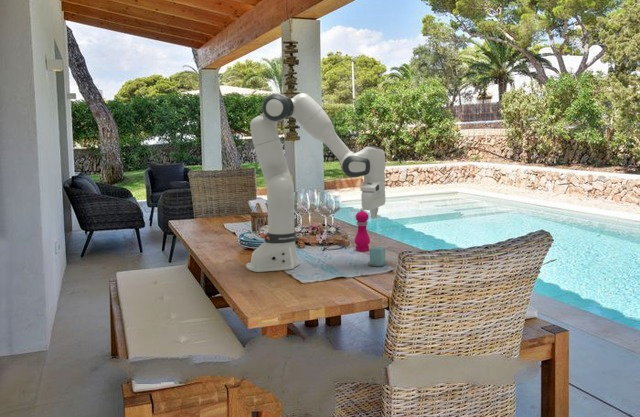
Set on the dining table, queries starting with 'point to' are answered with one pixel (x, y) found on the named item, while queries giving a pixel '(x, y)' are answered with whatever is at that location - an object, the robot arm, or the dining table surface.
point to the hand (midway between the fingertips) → (374, 218)
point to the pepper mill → (362, 232)
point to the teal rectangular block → (377, 255)
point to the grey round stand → (377, 265)
